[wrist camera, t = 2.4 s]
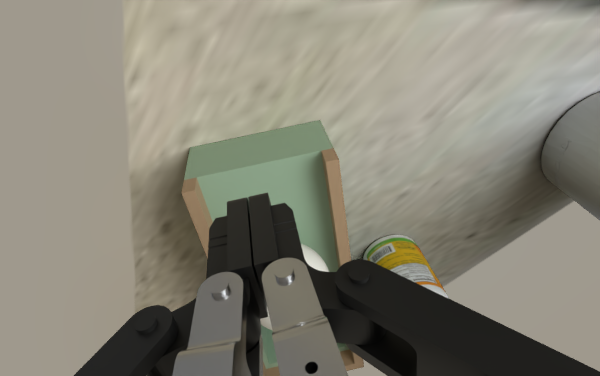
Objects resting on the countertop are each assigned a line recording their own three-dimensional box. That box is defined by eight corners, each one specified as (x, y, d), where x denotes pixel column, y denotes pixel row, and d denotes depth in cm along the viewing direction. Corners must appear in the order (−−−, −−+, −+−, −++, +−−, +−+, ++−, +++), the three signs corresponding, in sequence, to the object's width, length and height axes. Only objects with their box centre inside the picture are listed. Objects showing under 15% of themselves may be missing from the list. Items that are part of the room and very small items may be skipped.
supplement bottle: (406, 276, 39) (452, 365, 31) (355, 275, 38) (389, 367, 30) (424, 233, 37) (480, 319, 28) (370, 231, 35) (411, 319, 27)
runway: (320, 120, 29) (338, 159, 24) (347, 314, 41) (363, 366, 36) (189, 147, 28) (181, 193, 23) (256, 335, 41) (260, 391, 36)
